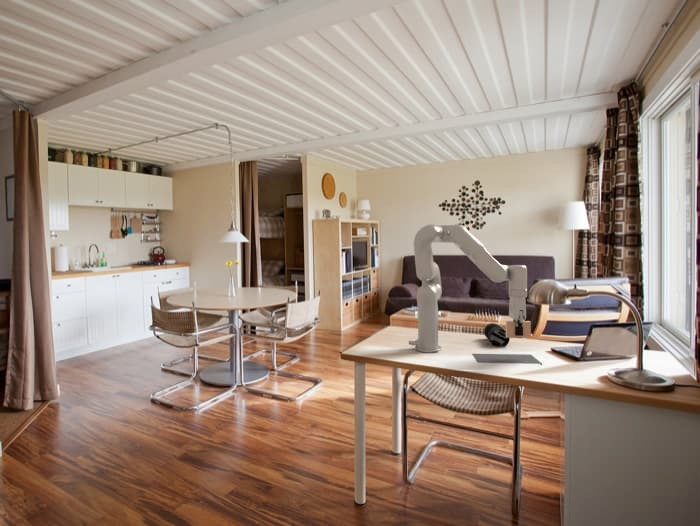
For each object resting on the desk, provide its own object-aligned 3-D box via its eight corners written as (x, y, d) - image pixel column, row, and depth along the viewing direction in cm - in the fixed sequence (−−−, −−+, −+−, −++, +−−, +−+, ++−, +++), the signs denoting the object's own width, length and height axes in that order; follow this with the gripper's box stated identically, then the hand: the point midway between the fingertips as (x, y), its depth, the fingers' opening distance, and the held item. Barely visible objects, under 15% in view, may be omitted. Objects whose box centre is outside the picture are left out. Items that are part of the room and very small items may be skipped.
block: (507, 337, 179) (506, 322, 179) (505, 336, 182) (505, 321, 181) (530, 337, 178) (530, 322, 178) (529, 336, 180) (529, 321, 180)
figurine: (513, 335, 197) (503, 326, 217) (496, 326, 198) (487, 318, 217) (504, 351, 198) (494, 342, 218) (487, 342, 199) (479, 333, 218)
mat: (477, 363, 173) (477, 362, 173) (471, 354, 187) (471, 353, 187) (542, 364, 170) (542, 363, 170) (531, 355, 184) (531, 354, 184)
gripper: (504, 291, 187) (504, 331, 188) (514, 295, 172) (514, 339, 172) (521, 291, 187) (521, 331, 187) (532, 295, 171) (533, 339, 172)
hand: (518, 334), depth 180 cm, fingers closed on block, 2 cm apart
